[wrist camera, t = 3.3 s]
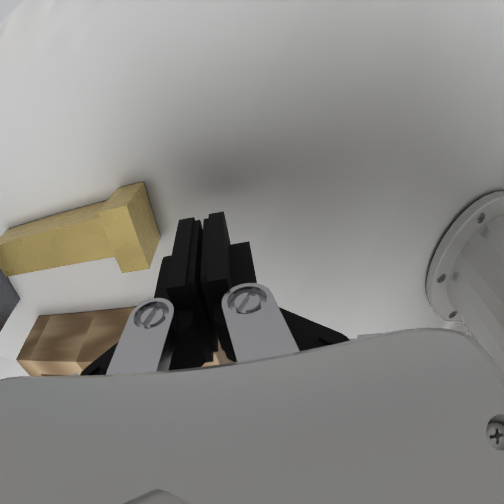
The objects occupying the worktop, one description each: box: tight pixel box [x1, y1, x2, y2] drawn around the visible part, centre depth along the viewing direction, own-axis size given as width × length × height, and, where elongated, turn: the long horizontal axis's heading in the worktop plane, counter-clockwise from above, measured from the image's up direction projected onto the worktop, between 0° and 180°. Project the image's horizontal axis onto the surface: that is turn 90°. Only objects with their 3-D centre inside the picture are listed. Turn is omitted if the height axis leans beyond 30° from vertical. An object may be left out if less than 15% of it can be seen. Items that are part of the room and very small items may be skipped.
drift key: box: [0, 182, 160, 277], centre depth 16 cm, size 12×4×3 cm, turn 98°
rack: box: [16, 307, 234, 376], centre depth 18 cm, size 16×8×12 cm, turn 98°
